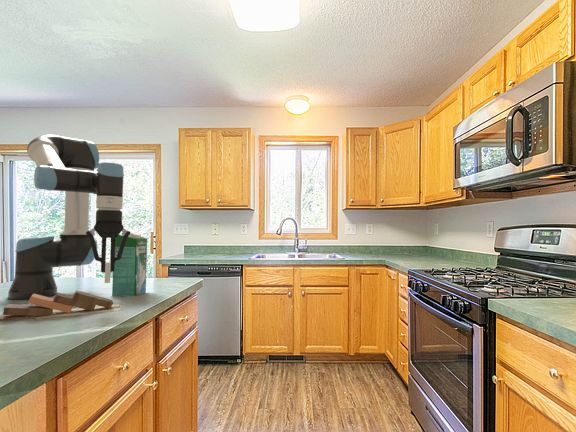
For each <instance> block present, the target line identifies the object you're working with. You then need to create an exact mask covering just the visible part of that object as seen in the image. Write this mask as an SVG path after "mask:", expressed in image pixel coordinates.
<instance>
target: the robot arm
mask: <svg viewBox="0 0 576 432" xmlns="http://www.w3.org/2000/svg"><path fill="white" fill-rule="evenodd" d="M26 151H27V155H28V158H30V160H31V161H33V162H34V163H35V165H36V167H35V169H34V174H33V175H34V176H33V182H34V184H33V185H34V187H35V188H36V189H39V190H44V191H45V190H46V191H58V192H65V197H64V198H65V200H64V201H65V204H64V230H63V231H62V232H61V233H59V238H55V236H54V234H53V235H52V234H51V235H50V234H48V235H38V236H30V237H23V238H20V239H17V242H16V248H15V251H14V252H15V269H14V278H13V280H12V283H11V285H10V287H9V289H8V293H7V298H8V299H11V300H29V299H30V297H31V296H32V295H33V294H38V295H42V296H46V297H51V296H54V295H55V296H56V295H57V293H58V285H57V283H56V279H55V278H54V273H53V272H54V271H53V269H54V268H60V267H61V268H62V267H75V266H78V267H81V266H86V265H90V264H92V263H93V261H96V262H100V272H101V273H104V284H110V283H111V273H113V272H114V267H115V261H117V260H120V259H121V257H122V253H123V250H124V246H125V243H126V240H127V237H128V236H129V235H130V234H131V231H129V230H127V229H126V228H125V226H124V225H123V211H122V209H123V205H124V203H123V200H124V198H123V196H124V176H125V174H124V166H123V164H121V163H118V162H111V161H100V153H99V149H98V147H97V144H95V142H93V141H90V140H85V139H80V138H73V137H72V138H71V137H67V136H60V135H56V134H45V135H40V136H37V137H35V138H33V139H32V140H30V142H29V143H28V145H27V146H26ZM95 170H96V171H95ZM90 194H93V195H96V204H95V206H96V209H97V210H96V211H95V212H96V213H95V224H94V225H93V228H91V229H89V224H90V223H89V222H90V221H89V220H90ZM95 232H96V233H97V235H98V237H100V238H101V253H100V255H101V256H100V255H99V252H98V241H97V238H95V237H94V236H95V235H96V233H95ZM120 233H122V235H123V237H122V240H121V244H120V247H119V251H118V254H117V256H116V257H115V238H116V237H117V236H118V235H119V234H120ZM108 238H109V239H110V257H109V260H110V261H106V260H107V257H106V256H107V239H108Z"/></svg>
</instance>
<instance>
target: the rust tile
mask: <svg viewBox="0 0 576 432" xmlns="http://www.w3.org/2000/svg"><path fill="white" fill-rule="evenodd" d="M54 298H55V297H51V296H47V297H46V296H42V295H38V294H33V295H32V296H31V297H30V299H28V302H27V304H28V305H38V306H42V307H46V308H50V309H53V310H59V311H63V312H67V313H70V312H71V310H72V309H74V308H73V306H69V305H65V304H61V303H57V302H53V301H54Z"/></svg>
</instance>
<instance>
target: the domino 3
mask: <svg viewBox="0 0 576 432" xmlns="http://www.w3.org/2000/svg"><path fill="white" fill-rule="evenodd" d="M73 296H74V295H70V294H65V293H61V292H57V294H55V297H53V298H54V301H53V302H57V303H61V304H65V305H69V306H73V307H74V308H82V309H86V310H90V311H93V310H94V308H95V306H97V305H94V304H90V303H86V302H82V301H78V300H74V299H73Z"/></svg>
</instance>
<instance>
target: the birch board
mask: <svg viewBox="0 0 576 432" xmlns="http://www.w3.org/2000/svg"><path fill="white" fill-rule="evenodd" d="M116 311H122V307H121V305H120V303H115V304H114V303H113V304H112V307H111V309H110V308H106V307H102V306H98V305H96V306H95V308H94V310H93V311H90V310H86V309H82V308H78V307H74V308H72V310H71V312H70V313H67V312H63V311H59V310H55V309H53V312H52V314H51V316H35V318H33V320H42V319H51V318H53V319H54V318H60V317H61V318H62V317H69V316H70V317H71V316H80V315H88V314H89V315H90V314H96V313H107V312H116Z"/></svg>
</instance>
